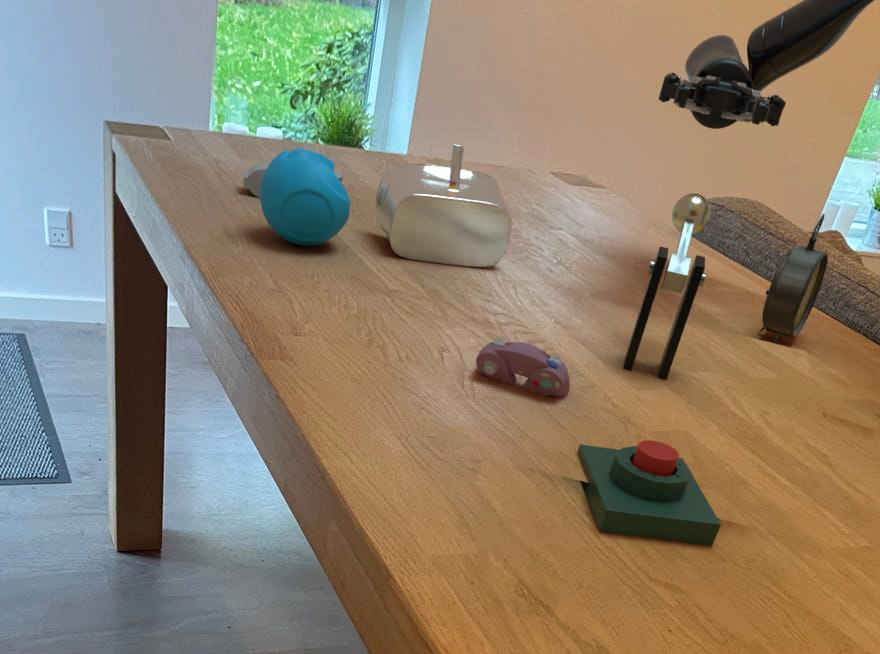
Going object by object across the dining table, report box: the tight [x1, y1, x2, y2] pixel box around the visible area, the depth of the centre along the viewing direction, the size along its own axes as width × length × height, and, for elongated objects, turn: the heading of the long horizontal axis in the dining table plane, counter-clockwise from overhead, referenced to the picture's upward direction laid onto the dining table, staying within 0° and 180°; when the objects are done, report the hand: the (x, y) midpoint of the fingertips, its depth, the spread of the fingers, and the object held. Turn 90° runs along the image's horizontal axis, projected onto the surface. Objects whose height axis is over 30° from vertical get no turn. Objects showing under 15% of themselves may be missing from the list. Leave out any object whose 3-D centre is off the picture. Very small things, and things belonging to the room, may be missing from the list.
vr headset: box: [375, 143, 513, 268], centre depth 135 cm, size 18×11×14 cm, turn 99°
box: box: [577, 443, 722, 547], centre depth 86 cm, size 12×10×4 cm
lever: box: [660, 193, 712, 294], centre depth 108 cm, size 14×4×4 cm, turn 165°
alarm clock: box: [757, 213, 829, 345], centre depth 128 cm, size 11×5×16 cm, turn 147°
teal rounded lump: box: [260, 147, 351, 247], centre depth 129 cm, size 12×11×12 cm
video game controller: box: [475, 337, 571, 398], centre depth 101 cm, size 10×5×7 cm, turn 68°
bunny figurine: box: [242, 162, 346, 199], centre depth 148 cm, size 10×5×15 cm
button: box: [632, 439, 680, 476], centre depth 85 cm, size 4×4×2 cm
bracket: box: [622, 246, 707, 381], centre depth 108 cm, size 12×9×14 cm
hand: (721, 105), depth 111 cm, fingers open, 8 cm apart
